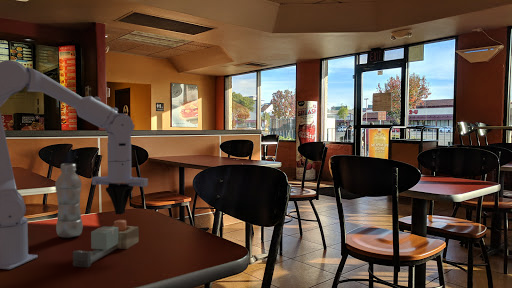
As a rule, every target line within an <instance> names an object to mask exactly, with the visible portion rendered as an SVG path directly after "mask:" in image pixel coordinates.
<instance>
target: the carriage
mask: <svg viewBox="0 0 512 288" xmlns="http://www.w3.org/2000/svg"><path fill="white" fill-rule="evenodd" d="M90 237H91V239H90V241H91V242H90V245H91V250H96V249H102V250H107V249H109V248H111V247H113V246H115V245H116V244H118V227H112V226H105V225H103V226H101V227H97V228H96V229H94V230H92V231H91V232H90Z"/></svg>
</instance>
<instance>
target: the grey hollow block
mask: <svg viewBox="0 0 512 288" xmlns="http://www.w3.org/2000/svg"><path fill="white" fill-rule="evenodd" d="M111 227H114V225H111ZM139 235H140V234H139V226H132V225H131V226H130V225H126V230H125V231H124V232H121V231H118V248H117V249H123V250H124V249H125V250H128V249H129V248H131V247H133V246H134V245H136V244H137V243H139V242H140V241H139V239H140V238H139V237H140V236H139Z"/></svg>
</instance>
